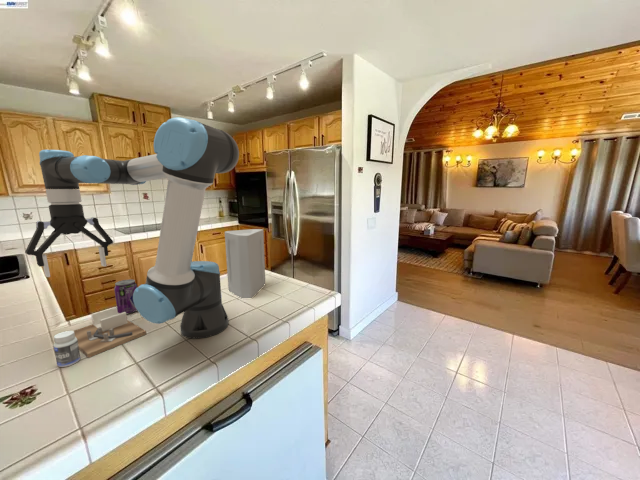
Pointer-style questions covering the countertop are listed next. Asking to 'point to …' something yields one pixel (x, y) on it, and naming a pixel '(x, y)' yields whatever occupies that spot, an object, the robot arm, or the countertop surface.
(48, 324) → the countertop surface
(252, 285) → the grey triangular prism
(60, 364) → the pill bottle
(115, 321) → the end holder
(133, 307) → the beverage can
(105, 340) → the board
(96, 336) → the cable
